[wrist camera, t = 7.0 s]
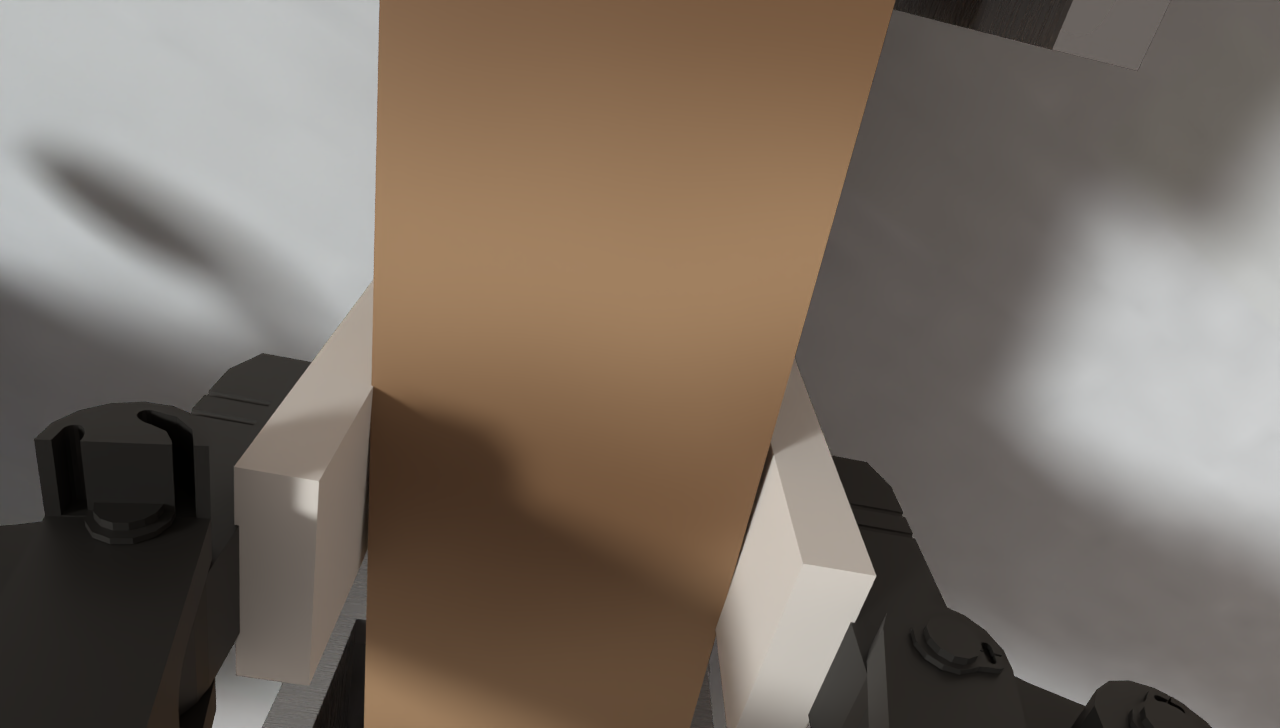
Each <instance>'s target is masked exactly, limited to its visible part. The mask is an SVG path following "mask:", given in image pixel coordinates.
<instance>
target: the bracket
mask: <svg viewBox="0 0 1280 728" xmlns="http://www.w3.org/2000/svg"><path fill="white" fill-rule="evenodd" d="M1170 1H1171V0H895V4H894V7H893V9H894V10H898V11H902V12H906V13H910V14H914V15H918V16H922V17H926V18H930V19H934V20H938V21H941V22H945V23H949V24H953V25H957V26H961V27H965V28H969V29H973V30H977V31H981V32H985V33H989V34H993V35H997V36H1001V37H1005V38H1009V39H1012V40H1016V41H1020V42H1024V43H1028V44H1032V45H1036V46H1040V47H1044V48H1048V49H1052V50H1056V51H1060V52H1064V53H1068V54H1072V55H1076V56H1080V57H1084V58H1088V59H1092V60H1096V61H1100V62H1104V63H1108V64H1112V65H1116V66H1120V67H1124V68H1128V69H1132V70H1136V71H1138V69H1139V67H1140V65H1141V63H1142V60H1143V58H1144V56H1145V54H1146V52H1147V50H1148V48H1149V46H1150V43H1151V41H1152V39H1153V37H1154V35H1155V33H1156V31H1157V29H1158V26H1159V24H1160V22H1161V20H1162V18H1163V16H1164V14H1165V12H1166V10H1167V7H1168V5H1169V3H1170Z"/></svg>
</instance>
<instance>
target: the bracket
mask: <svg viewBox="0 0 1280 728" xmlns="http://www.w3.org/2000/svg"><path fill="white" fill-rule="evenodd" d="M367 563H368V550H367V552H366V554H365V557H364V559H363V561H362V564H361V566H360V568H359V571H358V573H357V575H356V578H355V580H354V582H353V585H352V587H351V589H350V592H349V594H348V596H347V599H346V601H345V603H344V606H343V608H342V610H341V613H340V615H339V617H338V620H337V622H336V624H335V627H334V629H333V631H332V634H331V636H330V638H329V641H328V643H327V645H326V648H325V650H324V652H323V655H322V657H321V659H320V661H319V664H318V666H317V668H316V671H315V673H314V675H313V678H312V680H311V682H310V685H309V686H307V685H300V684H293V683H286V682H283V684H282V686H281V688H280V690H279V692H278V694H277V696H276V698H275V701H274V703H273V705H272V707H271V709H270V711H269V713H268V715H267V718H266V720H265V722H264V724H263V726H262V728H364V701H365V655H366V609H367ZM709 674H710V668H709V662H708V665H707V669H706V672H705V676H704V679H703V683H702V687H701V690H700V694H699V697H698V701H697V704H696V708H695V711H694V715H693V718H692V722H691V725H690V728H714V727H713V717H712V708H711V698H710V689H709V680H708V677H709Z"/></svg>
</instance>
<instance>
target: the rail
mask: <svg viewBox="0 0 1280 728" xmlns="http://www.w3.org/2000/svg"><path fill="white" fill-rule="evenodd" d="M894 4H895V0H380V8H379V55H378V101H377V147H376V193H375V239H374V286H373V332H372V378H371V386H373V395H372V407H371V424H370V470H369V517H368V563H367V609H366V655H365V701H364V728H690V725H691V722H692V718H693V715H694V711H695V708H696V704H697V701H698V697H699V694H700V690H701V687H702V683H703V679H704V676H705V672H706V669H707V665H708V662H709V658H710V655H711V651H712V648H713V644H714V641H715V637H716V631H715V629H716V626H717V623H718V620H719V618H720V615H721V612H722V609H723V606H724V603H725V601H726V598H727V595H728V591H729V588H730V584H731V580H732V577H733V573H734V570H735V566H736V563H737V559H738V556H739V552H740V549H741V545H742V542H743V538H744V534H745V531H746V527H747V524H748V520H749V517H750V513H751V510H752V506H753V503H754V499H755V496H756V492H757V488H758V485H759V481H760V478H761V474H762V471H763V467H764V464H765V460H766V457H767V453H768V450H769V446H770V443H771V439H772V435H773V432H774V428H775V425H776V421H777V418H778V414H779V411H780V407H781V404H782V400H783V397H784V393H785V389H786V386H787V382H788V379H789V375H790V372H791V368H792V365H793V361H794V358H795V354H796V351H797V347H798V343H799V340H800V336H801V333H802V329H803V326H804V322H805V319H806V315H807V312H808V308H809V305H810V301H811V297H812V294H813V290H814V287H815V283H816V280H817V276H818V273H819V269H820V266H821V262H822V259H823V255H824V252H825V248H826V244H827V241H828V237H829V234H830V230H831V227H832V223H833V220H834V216H835V213H836V209H837V206H838V202H839V198H840V195H841V191H842V188H843V184H844V181H845V177H846V174H847V170H848V167H849V163H850V160H851V156H852V152H853V149H854V145H855V142H856V138H857V135H858V131H859V128H860V124H861V121H862V117H863V114H864V110H865V107H866V103H867V99H868V96H869V92H870V89H871V85H872V82H873V78H874V75H875V71H876V68H877V64H878V61H879V57H880V53H881V50H882V46H883V43H884V39H885V36H886V32H887V29H888V25H889V22H890V18H891V15H892V11H893V7H894Z"/></svg>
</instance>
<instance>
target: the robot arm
mask: <svg viewBox="0 0 1280 728" xmlns="http://www.w3.org/2000/svg"><path fill="white" fill-rule="evenodd" d="M373 286H374V279H373V281H372V282H371V283H370V285H369V286H368V287H367V289H366V290H365V291H364V293H363V294H362V295H361V297H360V298H359V300H358V301H357V302H356V304H355V305H354V306H353V308H352V309H351V310H350V312H349V313H348V314H347V316H346V317H345V318H344V320H343V321H342V322H341V324H340V325H339V326H338V328H337V329H336V330H335V332H334V333H333V334H332V336H331V337H330V338H329V340H328V341H327V342H326V344H325V345H324V346H323V348H322V349H321V351H320V352H319V353H318V355H317V356H316V357H315V359H314V360H313V361H312V362H307V361H302V360H297V359H291V358H286V357H280V356H275V355H269V354H264V353H262V354H260V355H258V356H256V357H254V358H252V359H249V360H247V361H245V362H243V363H241V364H239V365H237V366H235V367H232V368H230V369H229V370H228V371H227V372H226V373H225V374H224V375H223V376H222V377H221V378H220V379H219V381H218V382H217V383H216V384H215V385H214V386H213V387H212V388H211V389H210V390H209V394H208V396H206V395H205V396H204V397H203V398H202V399H201V400H200V401H199V402H198V403H197V404H196V405H195V407H194V408H193V409H192V412H191V414H190V413H188V412H186V411H183V410H181V409H179V408H176V407H174V406H168V405H162V404H155V403H149V402H129V403H110V404H106V405H101V406H97V407H92V408H88V409H83V410H79V411H77V412H75V413H73V414H70V415H68V416H66V417H64V418H62V419H60V420H57V421H55V422H53V423H51V424H50V425H49V426H48V427H47V428H46V429H45V430H44V431H43V432H42V433H41V434H39V435H38V436H37V437H36V438H35V439H34V441H35V448H36V455H37V462H38V469H39V476H40V483H41V490H42V497H43V504H44V511H45V517H44V519H43V521H42V522H36V523H27V524H18V525H6V526H0V728H212V725H213V720H214V716H215V712H216V689H215V676H216V675H217V673H218V671H219V669H220V667H221V666H222V664H223V662H224V660H225V659H226V657H227V655H228V653H229V651H230V650H231V648H232V646H233V644H234V642H235V641H236V675H237V676H244V677H251V678H258V679H265V680H272V681H279V682H286V683H293V684H300V685H307V686H309V685H310V682H311V680H312V678H313V675H314V673H315V671H316V668H317V666H318V664H319V661H320V659H321V657H322V655H323V652H324V650H325V648H326V645H327V643H328V641H329V638H330V636H331V634H332V631H333V629H334V627H335V624H336V622H337V620H338V617H339V615H340V613H341V610H342V608H343V606H344V603H345V601H346V599H347V596H348V594H349V592H350V589H351V587H352V585H353V582H354V580H355V578H356V575H357V573H358V571H359V568H360V566H361V564H362V561H363V559H364V557H365V554H366V552H367V550H368V517H369V470H370V424H371V407H372V395H373V386H371V378H372V332H373ZM902 514H903V512H902V509H901V507H900V505H899V503H898V501H897V499H896V496H895V494H894V492H893V490H892V488H891V486H890V485H889V484H888V483H887V482H886V481H885V480H884V479H883V478H882V477H881V476H880V475H879V474H878V473H877V472H876V471H875V470H874V469H873V468H872V467H871V466H870V465H869V464H868V463H867V462H862V461H857V460H851V459H846V458H841V457H835V456H831V454H830V451H829V448H828V446H827V443H826V440H825V438H824V435H823V432H822V430H821V427H820V424H819V422H818V419H817V416H816V414H815V411H814V409H813V406H812V403H811V401H810V398H809V395H808V393H807V390H806V387H805V385H804V382H803V379H802V377H801V374H800V371H799V369H798V366H797V363H796V361H795V358H794V361H793V365H792V368H791V372H790V375H789V379H788V382H787V386H786V389H785V393H784V397H783V400H782V404H781V407H780V411H779V414H778V418H777V421H776V425H775V428H774V432H773V435H772V439H771V443H770V446H769V450H768V453H767V457H766V460H765V464H764V467H763V471H762V474H761V478H760V481H759V485H758V488H757V492H756V496H755V499H754V503H753V506H752V510H751V513H750V517H749V520H748V524H747V527H746V531H745V534H744V538H743V542H742V545H741V549H740V552H739V556H738V559H737V563H736V566H735V570H734V573H733V577H732V580H731V584H730V588H729V591H728V595H727V598H726V601H725V603H724V606H723V609H722V612H721V615H720V618H719V620H718V623H717V626H716V629H715V631H716V639H717V648H718V657H719V665H720V674H721V682H722V691H723V700H724V708H725V717H726V725H727V728H806V727H807V725H808V723H809V722H810V726H811V728H1212V727H1211V726H1210V725H1209V724H1208V723H1207V722H1206V721H1204V720H1203V719H1202V718H1201V717H1199V716H1198V715H1197V714H1195V713H1194V712H1193V711H1191V710H1190V709H1189V708H1188V707H1187V706H1185V705H1184V704H1183V703H1181V702H1179V701H1178V700H1176V699H1174V698H1173V697H1170V696H1168V695H1167V694H1165V693H1163V692H1160V691H1159V690H1157V689H1155V688H1152V687H1149V686H1146V685H1142V684H1139V683H1135V682H1132V681H1108V682H1107V683H1105V684H1104V685H1103V686H1101V687H1100V688H1098V689H1097V690H1096V692H1095V693H1094V694H1093V696H1092V697H1091V699H1090V700H1089V702H1088V703H1087V705H1086V706H1083V705H1081V704H1079V703H1076V702H1074V701H1071V700H1069V699H1066V698H1064V697H1061V696H1059V695H1057V694H1054V693H1052V692H1049V691H1047V690H1044V689H1042V688H1039V687H1037V686H1035V685H1032V684H1030V683H1027V682H1025V681H1023V680H1021V679H1019V678H1017V677H1015V676H1014V674H1013V670H1012V668H1011V665H1010V663H1009V661H1008V659H1007V657H1006V655H1005V653H1004V651H1003V649H1002V648H1001V647H1000V646H999V645H998V644H997V643H996V642H995V640H994V639H993V638H992V637H991V636H990V635H989V634H988V633H987V631H985V630H984V629H982V628H981V627H980V626H978V625H977V624H976V623H974V622H973V621H971V620H970V619H969V618H967V617H966V616H964V615H962V614H960V613H958V612H956V611H953V610H951V609H949V608H947V607H946V605H945V602H944V600H943V598H942V596H941V594H940V592H939V590H938V587H937V585H936V583H935V581H934V579H933V577H932V574H931V572H930V570H929V568H928V566H927V564H926V561H925V559H924V557H923V555H922V553H921V551H920V548H919V546H918V544H917V542H916V540H915V539H913V538H912V534H913V533H912V531H911V529H910V527H909V525H908V522H907V520H906V518H905V517H902Z"/></svg>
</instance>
